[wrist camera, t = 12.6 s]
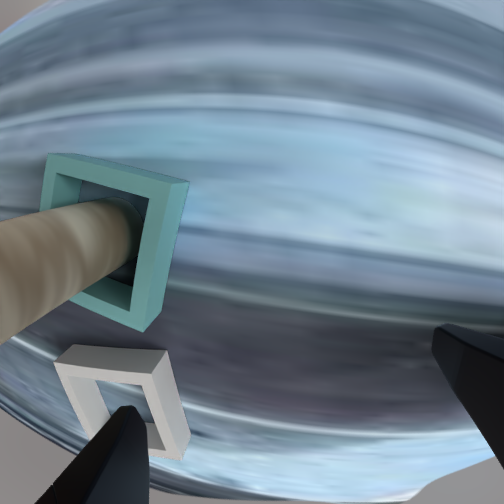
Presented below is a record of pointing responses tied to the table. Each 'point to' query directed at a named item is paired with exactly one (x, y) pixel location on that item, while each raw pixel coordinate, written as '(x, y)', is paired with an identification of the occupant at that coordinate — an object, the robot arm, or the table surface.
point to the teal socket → (153, 236)
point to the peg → (61, 256)
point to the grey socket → (130, 372)
